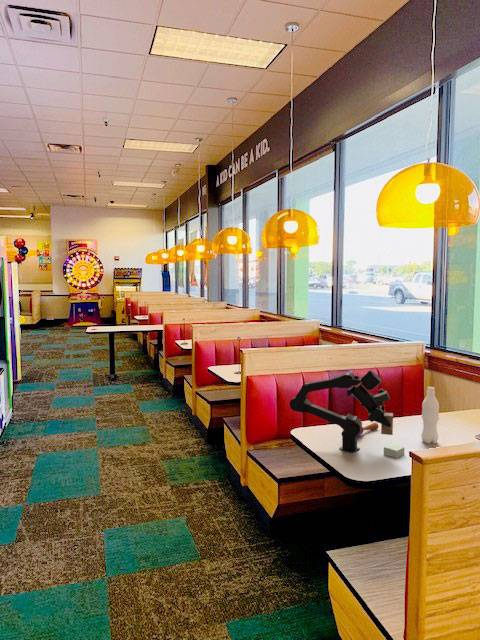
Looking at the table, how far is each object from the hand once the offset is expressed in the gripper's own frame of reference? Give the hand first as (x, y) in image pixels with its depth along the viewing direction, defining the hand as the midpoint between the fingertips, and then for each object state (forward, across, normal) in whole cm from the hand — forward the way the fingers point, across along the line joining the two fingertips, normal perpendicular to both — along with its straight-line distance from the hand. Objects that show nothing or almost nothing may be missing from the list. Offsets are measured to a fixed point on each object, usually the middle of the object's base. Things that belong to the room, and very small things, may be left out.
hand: (390, 424), depth 202 cm
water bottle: (+21, +20, -3) cm, 29 cm away
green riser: (+10, 0, +8) cm, 13 cm away
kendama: (0, +24, +18) cm, 30 cm away
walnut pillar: (+2, 0, +4) cm, 4 cm away
